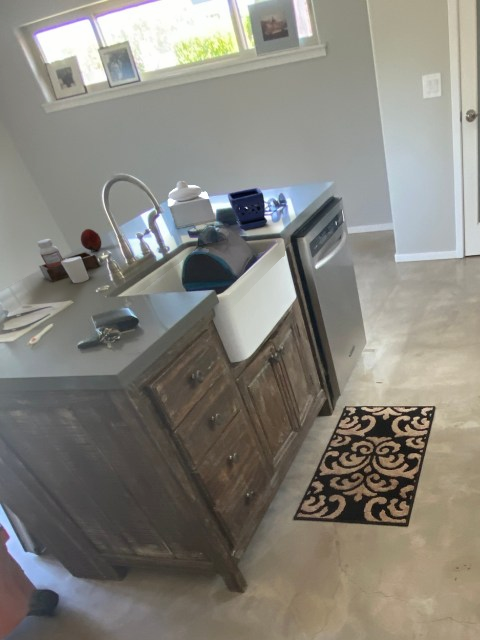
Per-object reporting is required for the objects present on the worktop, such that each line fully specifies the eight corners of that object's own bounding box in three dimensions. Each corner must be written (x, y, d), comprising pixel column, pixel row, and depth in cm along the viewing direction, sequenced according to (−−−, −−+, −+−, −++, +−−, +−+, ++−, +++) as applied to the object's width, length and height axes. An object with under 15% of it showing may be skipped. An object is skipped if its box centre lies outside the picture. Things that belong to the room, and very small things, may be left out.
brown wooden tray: (52, 281, 187) (46, 270, 185) (44, 277, 193) (38, 266, 190) (100, 266, 196) (94, 254, 193) (91, 262, 201) (86, 251, 198)
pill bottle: (56, 271, 194) (39, 239, 187) (71, 269, 194) (55, 237, 186) (48, 276, 190) (31, 244, 182) (64, 274, 189) (47, 242, 182)
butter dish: (213, 212, 242) (200, 173, 232) (215, 220, 229) (203, 179, 219) (175, 220, 240) (161, 180, 229) (176, 229, 227) (161, 187, 216)
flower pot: (271, 225, 211) (263, 192, 203) (239, 232, 208) (230, 199, 200) (265, 219, 220) (258, 187, 212) (235, 225, 218) (226, 193, 210)
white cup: (85, 282, 182) (75, 261, 177) (67, 284, 182) (56, 263, 178) (94, 275, 187) (84, 255, 182) (76, 277, 187) (66, 257, 183)
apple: (108, 248, 215) (99, 227, 210) (92, 254, 211) (82, 232, 206) (98, 247, 219) (89, 226, 213) (82, 252, 214) (72, 231, 209)
